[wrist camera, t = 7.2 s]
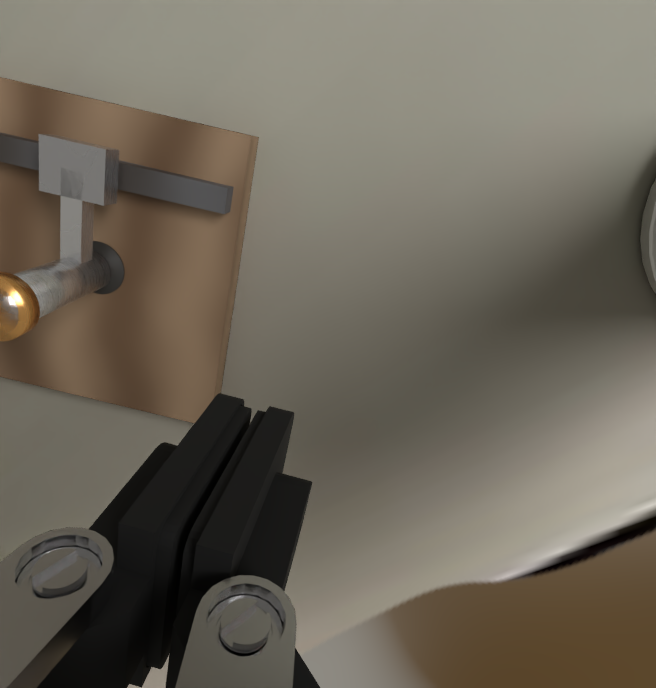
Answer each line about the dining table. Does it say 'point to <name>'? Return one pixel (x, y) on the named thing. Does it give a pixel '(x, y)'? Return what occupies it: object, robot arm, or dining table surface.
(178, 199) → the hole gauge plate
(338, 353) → the dining table surface
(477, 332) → the dining table surface
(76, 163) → the track spotlight
